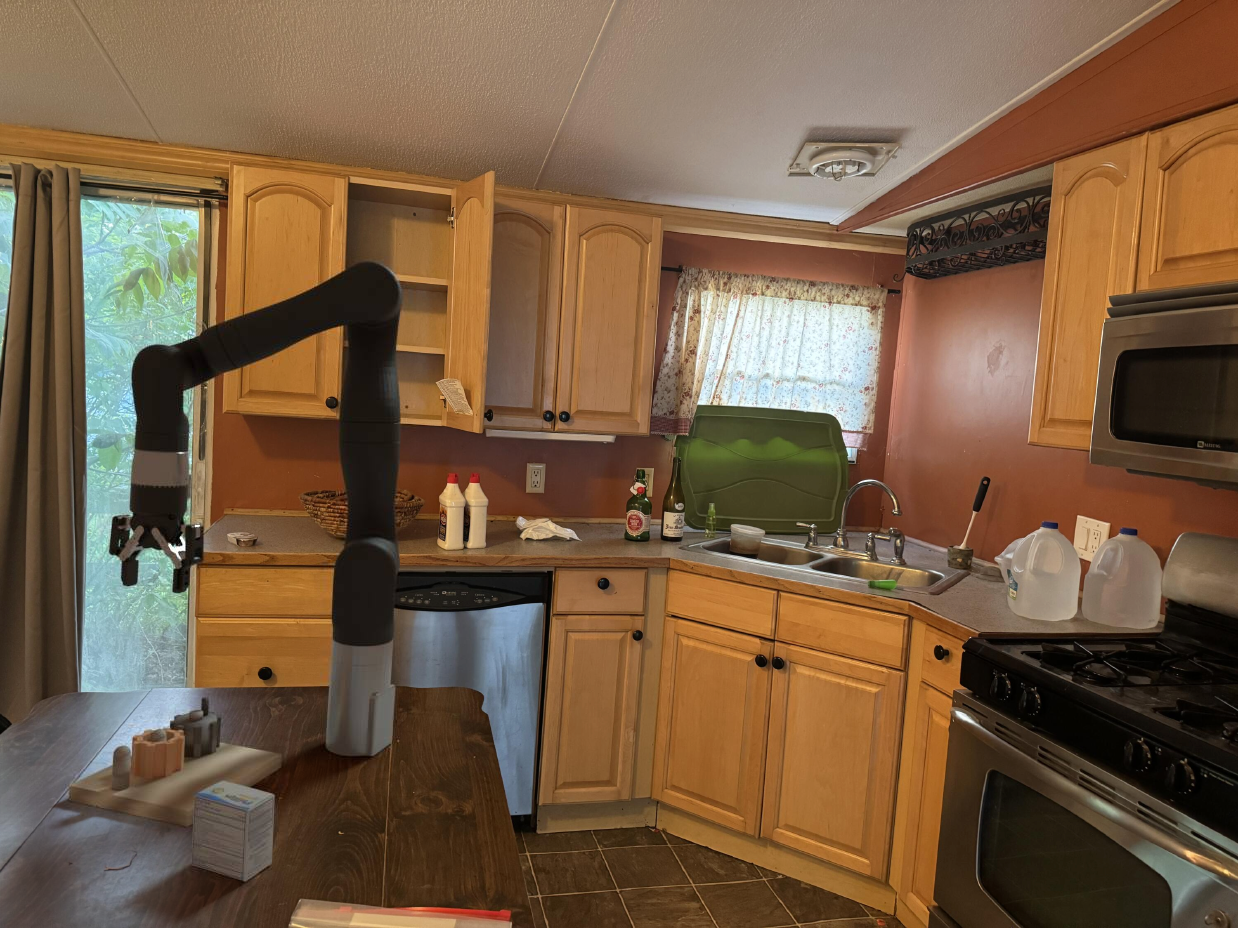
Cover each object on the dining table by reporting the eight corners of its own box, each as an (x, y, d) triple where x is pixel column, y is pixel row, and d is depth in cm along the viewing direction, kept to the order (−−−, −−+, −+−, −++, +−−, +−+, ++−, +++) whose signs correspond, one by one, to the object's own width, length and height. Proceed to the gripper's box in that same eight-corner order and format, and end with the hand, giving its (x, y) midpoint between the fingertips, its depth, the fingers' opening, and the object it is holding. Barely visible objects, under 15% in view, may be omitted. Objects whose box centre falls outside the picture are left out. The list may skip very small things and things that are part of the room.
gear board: (281, 767, 125) (284, 707, 124) (187, 826, 106) (191, 756, 106) (175, 746, 129) (178, 688, 128) (68, 800, 110) (71, 732, 110)
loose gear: (193, 763, 119) (194, 732, 119) (159, 781, 113) (161, 748, 113) (155, 755, 121) (156, 725, 120) (119, 773, 115) (121, 740, 114)
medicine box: (272, 865, 100) (277, 793, 99) (244, 884, 95) (248, 808, 95) (219, 848, 102) (223, 778, 101) (189, 866, 98) (193, 793, 97)
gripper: (219, 484, 128) (213, 590, 129) (137, 474, 131) (132, 578, 132) (184, 487, 121) (177, 600, 122) (98, 477, 124) (93, 587, 125)
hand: (154, 588), depth 127 cm, fingers open, 8 cm apart
